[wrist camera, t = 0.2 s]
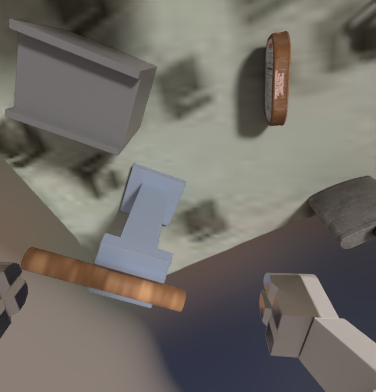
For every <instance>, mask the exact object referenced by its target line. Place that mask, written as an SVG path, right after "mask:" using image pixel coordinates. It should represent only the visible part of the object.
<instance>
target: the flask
mask: <svg viewBox="0 0 376 392" xmlns="http://www.w3.org/2000/svg"><path fill="white" fill-rule="evenodd" d="M308 204H309V205H310V206H311V208H312V209H313V210H314V212H315V213H316V214H317V215H318V217H319V218H320V219H321V220H322V222H323V223H324V224H325V226H326V227H327V228H328V230H329V231H330V232H331V233H332V235H333V236H334V237H335V239H336V240H337V241H338V242H339V244H340V245H341V246H342V247H343V248H345V249H348V248H352V247H354V246H356V245H358V244H361V243H363V242H366V241H368V240H371V239H374V238H376V180H375V179H374V178H372V177H370V176H364V177H359V178H355V179H351V180H348V181H345V182H342V183H339V184H336V185H334V186H331V187H329V188H326V189H324V190H322V191H320V192H318V193H316V194H314V195H312V196H311V197H309V199H308Z"/></svg>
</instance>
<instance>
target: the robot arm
mask: <svg viewBox="0 0 376 392" xmlns="http://www.w3.org/2000/svg"><path fill="white" fill-rule="evenodd" d="M21 273H22V270H21V268H20V266H19V264H17V263H10V262H0V338H1V337H2V335H3V334H4V333H5V331H6V330H7V328H8V327H9V325H10V324H11V316H12V315H14V314H15V313H17V312H18V311H20V309H21V308H22V306H23V305H24V303H25V301H26V298H27V295H28V287H27V284H26V282H25V280H23V279H22V278H21V277H20V274H21ZM263 283H264V286H265V289H264V290H262V291H261V296H260V313H261V318H262V322H263V323H264V324H265V325H266V326H267V330H266V339H267V343H268V347H269V351H270V355H274V356H286V357H299V360H300V361H301V362H302V363H303V365H304V366H305V367H306V368H307V369H308V371H309V372H310V373H311V374H312V376H313V377H314V378H315V379H316V380H317V382H318V383H319V384H320V385H321V387H322V388H323V389H324V390H325V392H376V343H375V342H373V341H372V340H371V339H369V338H368V337H367V336H366V335H364V334H363V333H362V332H360V331H359V330H358V329H357V328H355V327H354V326H353V325H351V324H350V323H349V322H348V321H346V320H345V319H339V317H338V316H337V314H336V312H335V310H334V309H333V306H332V304H331V303H330V301H329V299H328V297H327V295H326V293H325V292H324V290H323V288H322V286H321V284H320V282H319V280H318V279H317V277H316V276H315V275H314V274H282V273H266V275H265V276H264V281H263Z"/></svg>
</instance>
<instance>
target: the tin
mask: <svg viewBox="0 0 376 392" xmlns="http://www.w3.org/2000/svg"><path fill="white" fill-rule="evenodd" d="M290 64H291V43H290V36H289V33H288V32H287V31H284V32H280V33H273V34H271V35H270V37H269V38H268V41H267V46H266V55H265V85H264V108H265V117H266V121H267V122H268V124H269V125H270V126H277V125H281V126H282V125H284V123H285V121H286V117H287V110H288V95H289V79H290Z"/></svg>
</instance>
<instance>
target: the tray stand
mask: <svg viewBox="0 0 376 392" xmlns="http://www.w3.org/2000/svg"><path fill="white" fill-rule="evenodd" d="M9 28H10V29H13V30H15V31H18V32H19V34H18V51H17V68H16V85H15V102H14V107H12V108H8V109H5V116H6V117H9V118H12V119H14V120H17V121H20V122H23V123H26V124H29V125H32V126H34V127H37V128H40V129H43V130H46V131H49V132H52V133H55V134H57V135H60V136H63V137H66V138H69V139H72V140H75V141H78V142H80V143H83V144H86V145H89V146H92V147H95V148H98V149H100V150H103V151H106V152H109V153H112V154H115V155H119V154H120V153H121V151H122V150H123V149H124V147H125V146H126V145H127V144H128V142H129V141H130V140H131V138H132V137H133V136H134V134H135V133H136V132H137V130H138V129H139V128H140V125H141V122H142V118H143V115H144V111H145V108H146V104H147V101H148V97H149V94H150V90H151V86H152V83H153V79H154V76H155V72H156V69H157V66H155V65H152V64H150V63H147V62H145V61H143V60H140V59H138V58H135V57H133V56H130V55H128V54H125V53H123V52H120V51H118V50H116V49H113V48H111V47H108V46H106V45H103V44H101V43H98V42H96V41H93V40H91V39H89V38H86V37H84V36H81V35H79V34H76V33H74V32H71V31H67V30H62V29H58V28H53V27H48V26H43V25H38V24H33V23H28V22H24V21H19V20H14V19H9Z"/></svg>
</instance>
